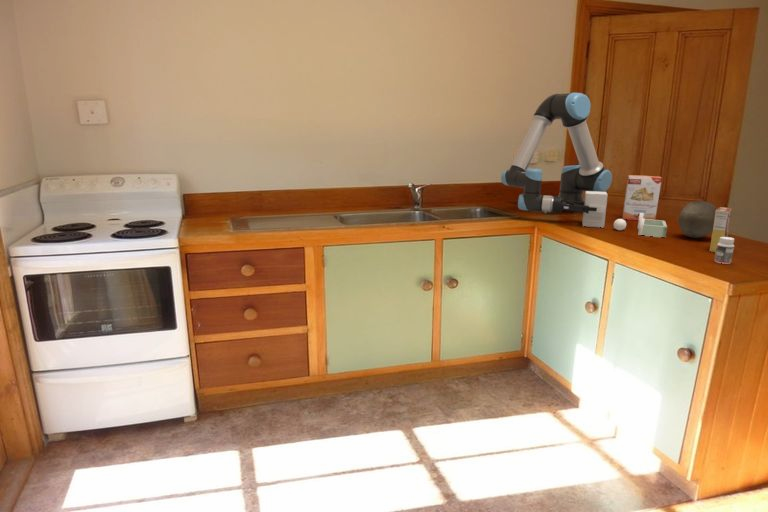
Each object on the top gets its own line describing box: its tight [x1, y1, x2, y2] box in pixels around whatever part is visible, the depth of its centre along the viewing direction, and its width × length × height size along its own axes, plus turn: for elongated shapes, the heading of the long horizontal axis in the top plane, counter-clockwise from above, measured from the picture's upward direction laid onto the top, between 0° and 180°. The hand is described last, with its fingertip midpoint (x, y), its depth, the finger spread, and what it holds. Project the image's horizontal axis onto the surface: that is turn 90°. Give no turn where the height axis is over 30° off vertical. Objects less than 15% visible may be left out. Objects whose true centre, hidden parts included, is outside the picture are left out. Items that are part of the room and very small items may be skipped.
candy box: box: [709, 206, 733, 253], centre depth 183 cm, size 9×4×15 cm, turn 140°
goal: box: [637, 213, 668, 239], centre depth 212 cm, size 16×10×7 cm, turn 155°
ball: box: [613, 218, 627, 231], centre depth 217 cm, size 5×5×5 cm
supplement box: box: [581, 191, 609, 229], centre depth 226 cm, size 9×9×15 cm
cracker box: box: [621, 174, 663, 222], centre depth 239 cm, size 14×6×21 cm, turn 68°
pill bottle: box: [714, 236, 735, 265], centre depth 168 cm, size 5×5×8 cm
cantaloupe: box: [678, 200, 718, 239], centre depth 202 cm, size 14×14×15 cm
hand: (605, 208), depth 224 cm, fingers closed on supplement box, 9 cm apart
